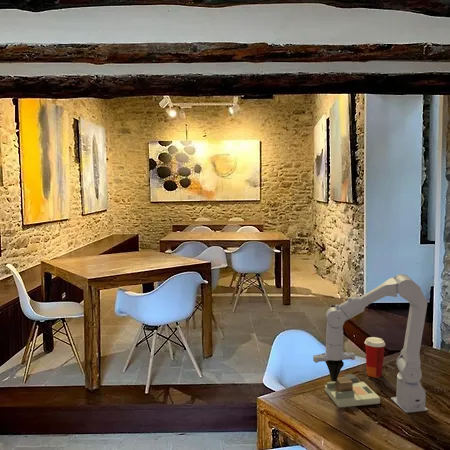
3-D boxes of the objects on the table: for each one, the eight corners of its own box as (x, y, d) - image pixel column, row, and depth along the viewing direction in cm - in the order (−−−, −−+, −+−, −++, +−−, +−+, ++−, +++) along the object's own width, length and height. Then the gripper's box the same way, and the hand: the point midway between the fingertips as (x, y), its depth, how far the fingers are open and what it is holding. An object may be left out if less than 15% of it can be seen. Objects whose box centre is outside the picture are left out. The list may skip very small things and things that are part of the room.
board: (380, 403, 149) (380, 392, 149) (338, 407, 147) (338, 396, 147) (363, 387, 161) (363, 376, 161) (324, 390, 159) (324, 380, 158)
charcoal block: (357, 386, 162) (357, 377, 162) (349, 388, 161) (349, 379, 160) (350, 382, 165) (350, 373, 165) (343, 384, 164) (343, 375, 163)
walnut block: (352, 394, 152) (352, 382, 151) (340, 395, 151) (340, 383, 150) (346, 388, 156) (347, 376, 155) (335, 389, 155) (335, 377, 155)
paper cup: (381, 370, 175) (382, 336, 173) (386, 379, 167) (387, 344, 166) (361, 370, 176) (362, 336, 174) (365, 378, 168) (366, 343, 167)
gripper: (349, 337, 156) (348, 373, 157) (310, 339, 154) (309, 376, 155) (358, 344, 149) (357, 382, 150) (317, 347, 147) (317, 385, 148)
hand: (333, 380), depth 152 cm, fingers closed
